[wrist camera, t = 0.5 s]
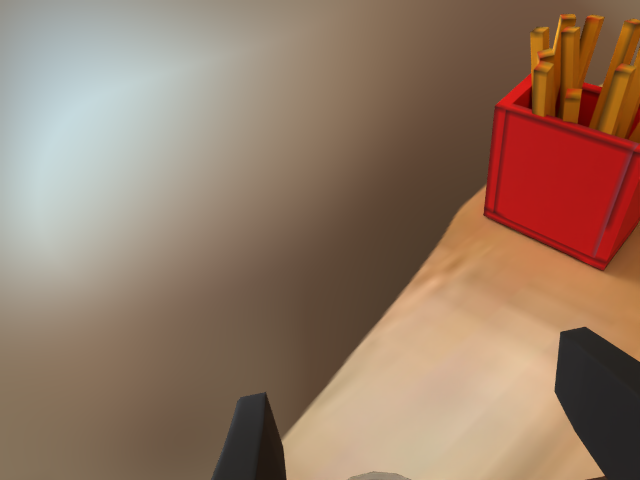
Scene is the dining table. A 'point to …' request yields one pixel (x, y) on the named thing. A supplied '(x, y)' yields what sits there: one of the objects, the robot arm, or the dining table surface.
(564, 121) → the french fries container
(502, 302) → the dining table surface
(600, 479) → the walnut board
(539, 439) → the dining table surface
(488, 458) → the dining table surface
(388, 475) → the beer can
